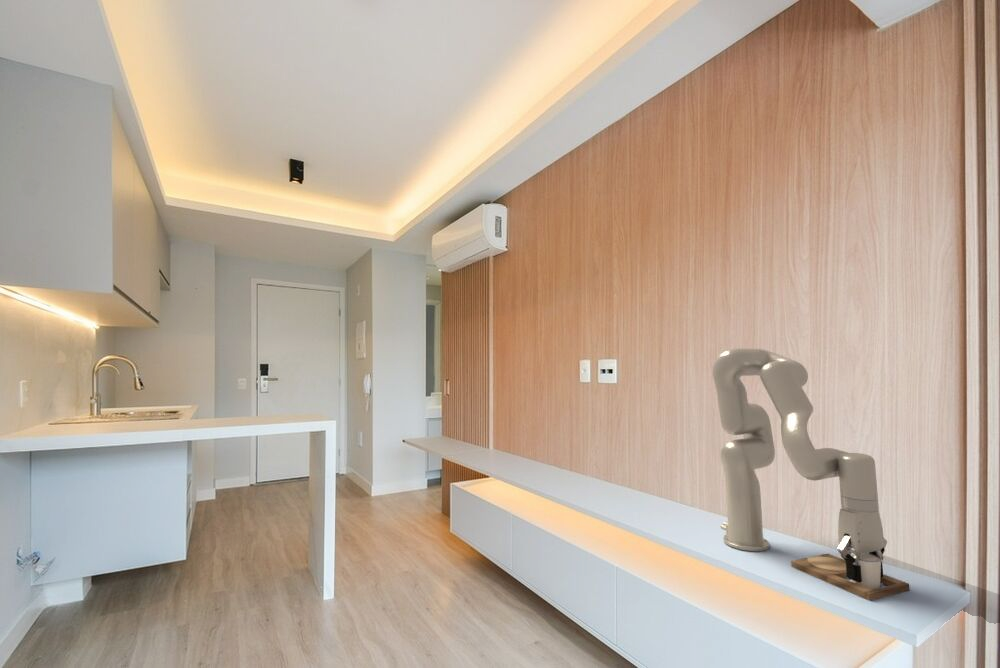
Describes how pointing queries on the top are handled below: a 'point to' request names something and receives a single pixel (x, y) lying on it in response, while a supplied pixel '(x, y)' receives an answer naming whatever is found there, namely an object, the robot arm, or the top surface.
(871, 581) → the cream short cylinder
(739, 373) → the robot arm
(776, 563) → the top surface
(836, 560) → the pocket board
